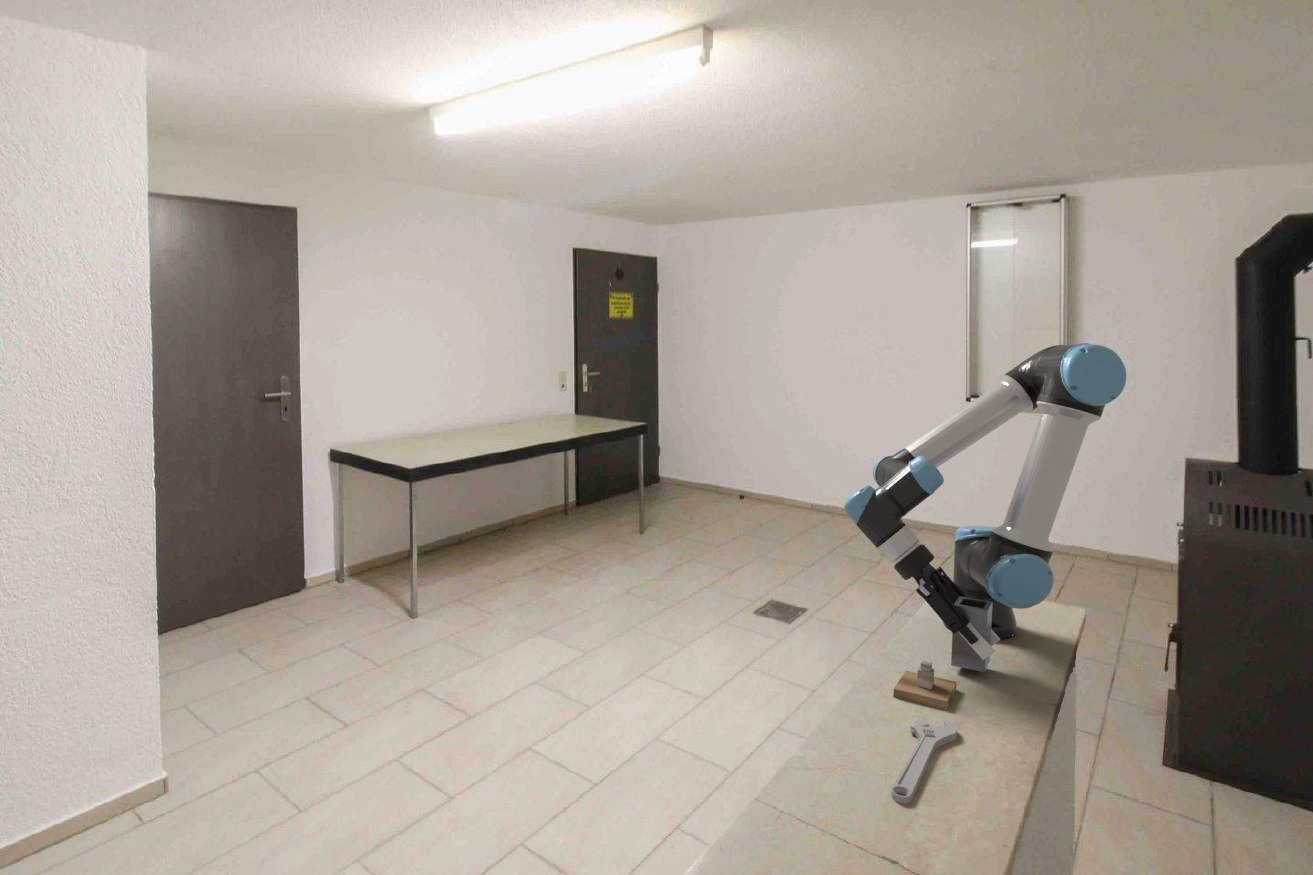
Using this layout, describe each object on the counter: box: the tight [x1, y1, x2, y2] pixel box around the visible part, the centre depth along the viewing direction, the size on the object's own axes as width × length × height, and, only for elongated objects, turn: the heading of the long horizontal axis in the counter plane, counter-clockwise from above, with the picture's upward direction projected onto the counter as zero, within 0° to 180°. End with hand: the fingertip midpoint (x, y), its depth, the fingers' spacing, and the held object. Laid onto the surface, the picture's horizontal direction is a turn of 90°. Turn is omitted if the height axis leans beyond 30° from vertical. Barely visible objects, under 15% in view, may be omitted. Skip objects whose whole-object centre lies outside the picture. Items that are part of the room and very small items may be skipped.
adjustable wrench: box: [890, 716, 958, 804], centre depth 109 cm, size 25×6×2 cm, turn 142°
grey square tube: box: [950, 596, 993, 673], centre depth 140 cm, size 6×6×12 cm
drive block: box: [892, 659, 958, 711], centre depth 130 cm, size 9×9×6 cm
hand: (991, 649), depth 138 cm, fingers closed on grey square tube, 6 cm apart
